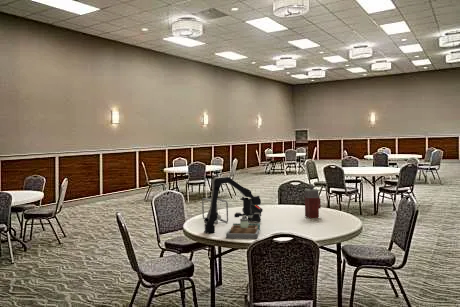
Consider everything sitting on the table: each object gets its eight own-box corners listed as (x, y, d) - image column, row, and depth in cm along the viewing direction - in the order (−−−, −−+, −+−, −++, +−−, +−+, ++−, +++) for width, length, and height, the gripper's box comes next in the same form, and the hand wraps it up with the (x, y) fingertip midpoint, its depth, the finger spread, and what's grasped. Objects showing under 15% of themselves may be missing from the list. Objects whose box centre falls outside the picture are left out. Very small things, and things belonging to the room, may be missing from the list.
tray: (229, 234, 282) (229, 228, 282) (233, 229, 297) (233, 223, 297) (257, 234, 278) (257, 228, 278) (260, 229, 294) (259, 223, 293)
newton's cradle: (228, 222, 322) (227, 201, 321) (216, 224, 317) (216, 202, 317) (213, 216, 349) (212, 196, 348) (202, 218, 344) (201, 197, 344)
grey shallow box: (226, 238, 273) (226, 233, 273) (229, 233, 286) (229, 229, 286) (257, 238, 269) (256, 234, 269) (259, 233, 282) (259, 229, 282)
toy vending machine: (321, 217, 334) (321, 184, 333) (308, 218, 332) (308, 184, 331) (317, 215, 342) (316, 183, 341) (305, 216, 341) (304, 183, 340)
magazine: (247, 217, 333) (253, 202, 328) (259, 226, 325) (264, 210, 320) (244, 218, 330) (250, 202, 325) (256, 227, 322) (262, 211, 317)
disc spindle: (239, 232, 283) (239, 219, 283) (241, 230, 289) (241, 218, 288) (247, 232, 281) (246, 220, 281) (249, 230, 287) (249, 218, 286)
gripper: (260, 204, 306) (260, 224, 306) (236, 204, 309) (237, 223, 310) (258, 206, 295) (259, 227, 295) (234, 206, 298) (234, 227, 299)
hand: (247, 226), depth 300 cm, fingers closed
